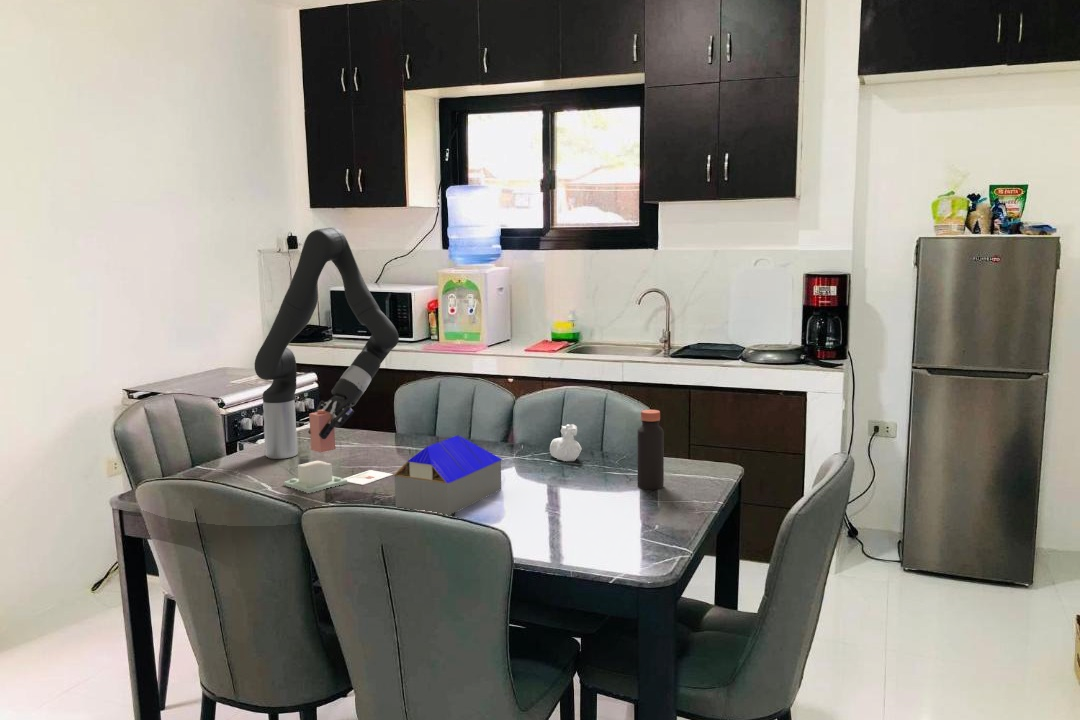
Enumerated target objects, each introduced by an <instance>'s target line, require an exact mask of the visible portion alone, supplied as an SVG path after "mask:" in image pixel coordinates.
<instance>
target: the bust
mask: <svg viewBox="0 0 1080 720" xmlns="http://www.w3.org/2000/svg"><path fill="white" fill-rule="evenodd" d="M560 433H561V434H562V437H557V438H553V439H552V441H551V443H550V445H549V453H550V455H551V456H552V457H553V458H554V459H555V458H557V459H556V460H560V461H563V462H565V461H566V462H575V461H576V459H577V458H578V457H579V456H580V453H581V451H582V449H583V448H582V446H581V445H580V443H579V442H578V441H577V440H575V438H574V436H577V433H578V426H577V425H575V424H574V423H572V424H568V423H567V424H566V425H561V429H560Z"/></svg>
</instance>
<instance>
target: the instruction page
mask: <svg viewBox="0 0 1080 720" xmlns="http://www.w3.org/2000/svg"><path fill="white" fill-rule="evenodd" d="M394 474H395V473H394ZM394 474H393V473H389V472H384V471H378V470H374V469H373V470H372V469H369V470H366V471H363V472H359V473H357V474H354V475H350V476H347V477H344V478H343V479H345V480H347V483H350V484H355V485H360V486H364V485H368V484H370V483H373V482H376V481H379V480H382V479H385V478H389V477H391V476H393V475H394Z"/></svg>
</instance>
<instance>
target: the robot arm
mask: <svg viewBox="0 0 1080 720" xmlns="http://www.w3.org/2000/svg"><path fill="white" fill-rule="evenodd" d="M350 246H351V245H350V244H349V241H348V240H347V237H346V236H345V234H344V233H343V231H342V230H340V229H339V228H336V227H326V228H318V229H315V230H312V231H311V232H309V233H308V235H307V237H306V238H305V240H304V242H303V246H302V250H301V253H300V256H299V261H298V263H297V267H296V269H295V271H294V274H293V276H292V279H291V281H290V284H289V287H288V288H287V291H286V293H285V295H284V296H283V297H284V298H283V299H282V302H281V303H280V307H279V309H278V311H277V312H278V313H277V315H276V317H275V319H274V322H273V323H272V325H271V328H270V330H269V332H268V334H267V336H266V337H265V339H264V341H263V343H262V344H261V347H260V348H259V350H258V352H257V354H256V356H255V361H254V371H255V374H256V376H257V377H258V378H260V379H261V380H264V381H265V380H266V381H271V380H272V383H271V385H270V386H269V387H268V388H266V389H265V390H264V391H263V393H262V405H263V406H262V407H263V420H264V423H263V424H264V425H263V437H264V452H265V456H266V458H267V457H268V459H275V460H277V459H280V460H281V459H282V460H283V459H287V458H288V459H289V458H293V457H295V456H297V455H298V436H297V421H296V420H297V419H296V406H295V405H296V403H295V395H296V391H297V361H296V357H295V354H294V352H293V351H292V350H291V349H290V348H289V347H288V345H290V343H291V341H292V340H294V339H295V338H296V337H297V336H298V335H299V334H300V333H301V332H302V331H303V330H304V329H305V328H306V327H307V325H309V323H310V321H311V319H312V317H313V315H314V312H315V309H316V308H317V305H318V302H319V301H318V300H319V291H318V290H319V289H318V281H319V278H320V276H321V274H322V272H323V269H324V267H325V266H326V264H327V263H328V262H330V261H331V262H332V263H333V265H334V266H335V267H336V269H337V271H338V272H339V274H340V276H341V279H342V283H343V290H344V295H345V299H346V302H347V304H348V307H350V309H351V311H352V313H353V314H354V316H355V318H356V319H357V321H358V322H359V324H360V325H362V326H365V327H366V328H367V329H368V331H369V332H370V333H371V335H370V337H369V338H368V340H367V342H366V343H365V344H364V346H363V348H362V349H361V351H360V352H359V353H358V354H357V356H356V357H355V359H353V361H352V363H351V364H350V365H349V366H348V368H347V369H346V370H345V371H344V372H343V373H342V375H341V376H340V378H339V379H338V381H336V383H335V385H334V387H333V388H332V389H331V397H330V398H329V399H328V400H327V401H324V400H320V401H319V403H318V405H317V407H316V409H315V411H314V413H315V412H317V410H325V411H327V412H330V413H331V414H330V416H331V417H330V419H329V420H328V422H327V423H328V424H326V425H325V426H324V428H323V429H322V430H321V432H320V433H319V436H320V437H321V438H322V439H326V438H327V436H328V435H329V434H330V432H331V431H332V429H334V430H335V429H336V428H341V427H342V426H343V425H344V424H345V423H346V421H348V420H349V418H351V417H352V416H353V414H354V413H355V411H354V409H352V407H354V406H356V404H357V403H358V402H359V400H360V398H361V397H362V395H364V393H365V391H366V390H367V388H368V387H369V385H370V383H371V382H372V379H373V378H374V377H375V376H376V374H377V372H378V371H379V369H380V368H381V365H382V363H383V361H384V360H385V359H386V358H387V356H388V355H389V353H390V352H391V351H392V350H394V348H395V347H396V346H397V345H398V343H399V340H400V338H399V337H400V336H399V332H398V330H397V328H396V326H395V325H394V323H393V322H392V321H391V320H390V319H389V318H388V317H387V316H386V315H385V313H384V312H383V311H382V310H381V308H380V306H379V304H378V303H377V301H376V299H375V297H374V296H373V295H372V293H371V291H370V289H369V288H368V285H367V284H366V282H365V279H364V277H363V276H362V273H361V271H360V268H359V266H358V264H357V261H356V259H355V256H354V254H353V252H352V249H351V247H350ZM333 419H334V420H333ZM307 433H308V434H309V435H310V428H309V430H308V431H307Z"/></svg>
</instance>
